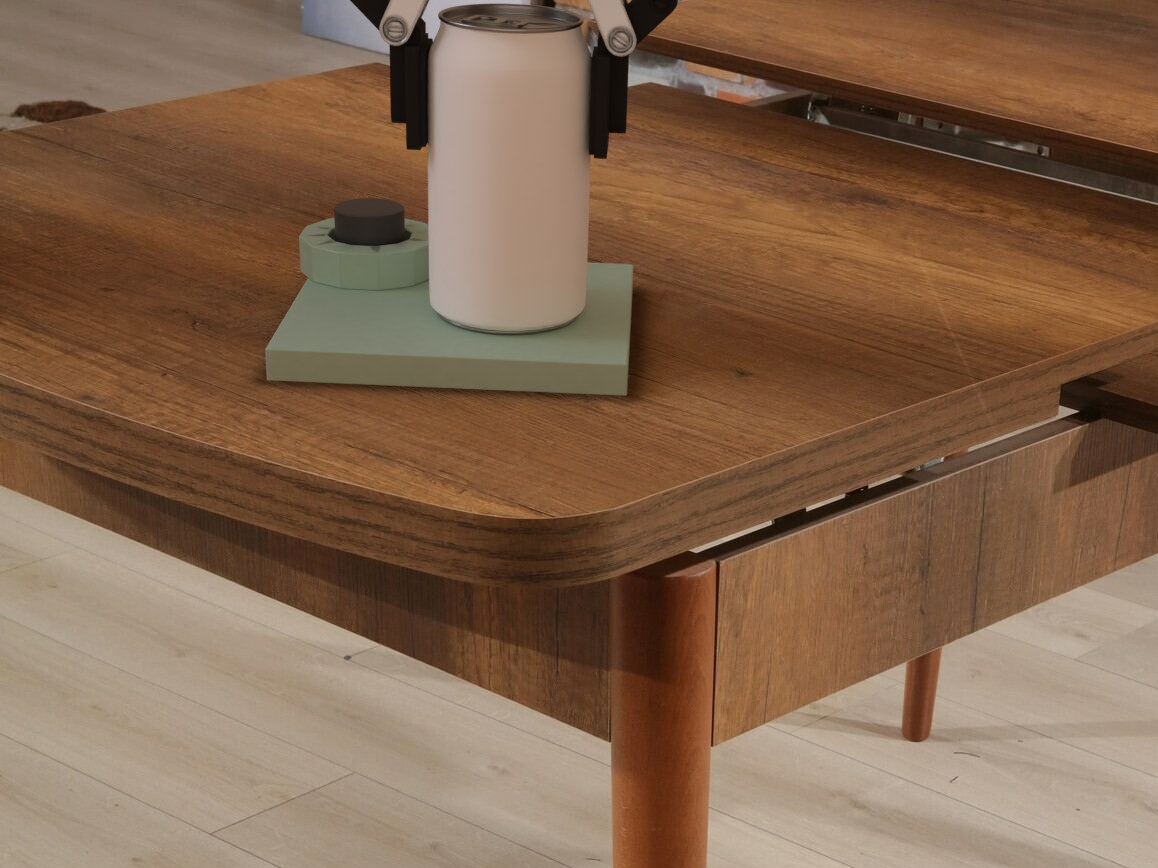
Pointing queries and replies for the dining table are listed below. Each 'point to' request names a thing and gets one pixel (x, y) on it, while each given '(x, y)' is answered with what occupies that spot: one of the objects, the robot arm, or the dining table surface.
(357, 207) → the button
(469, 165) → the can
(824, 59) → the dining table surface
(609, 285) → the scale
